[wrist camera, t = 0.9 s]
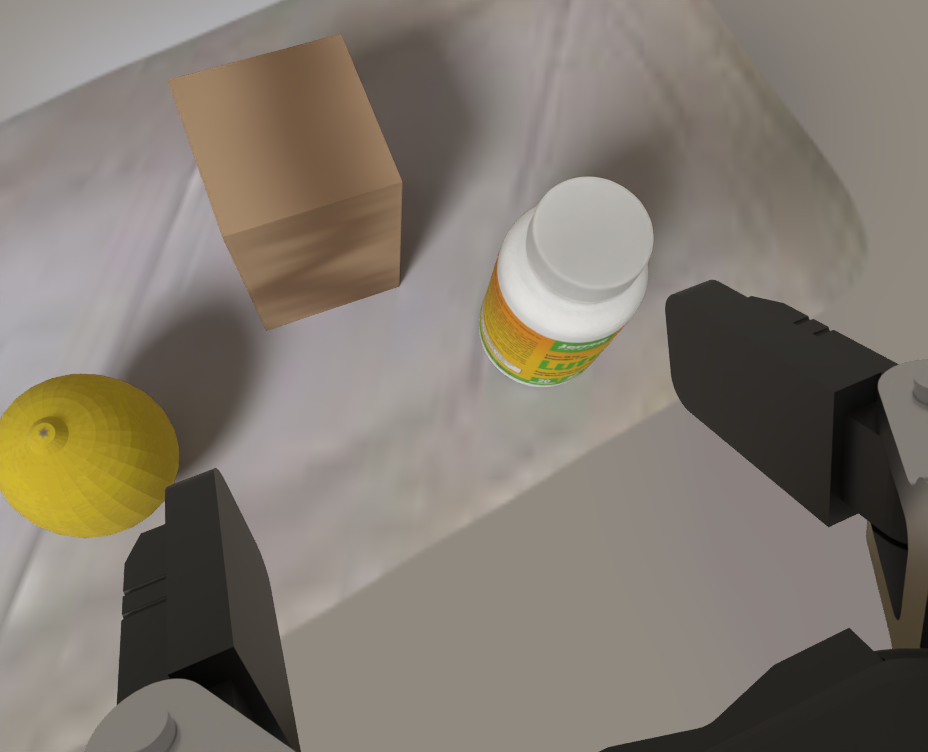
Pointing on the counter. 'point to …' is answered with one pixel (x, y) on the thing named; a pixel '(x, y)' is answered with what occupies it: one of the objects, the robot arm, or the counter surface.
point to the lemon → (86, 455)
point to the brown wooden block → (296, 177)
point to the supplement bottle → (566, 281)
